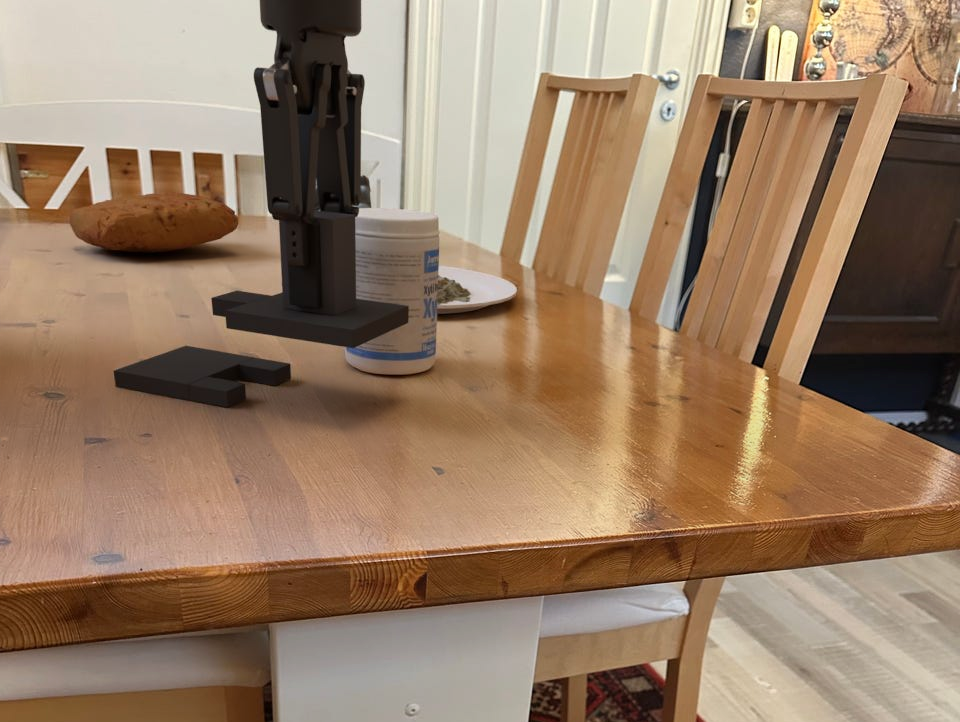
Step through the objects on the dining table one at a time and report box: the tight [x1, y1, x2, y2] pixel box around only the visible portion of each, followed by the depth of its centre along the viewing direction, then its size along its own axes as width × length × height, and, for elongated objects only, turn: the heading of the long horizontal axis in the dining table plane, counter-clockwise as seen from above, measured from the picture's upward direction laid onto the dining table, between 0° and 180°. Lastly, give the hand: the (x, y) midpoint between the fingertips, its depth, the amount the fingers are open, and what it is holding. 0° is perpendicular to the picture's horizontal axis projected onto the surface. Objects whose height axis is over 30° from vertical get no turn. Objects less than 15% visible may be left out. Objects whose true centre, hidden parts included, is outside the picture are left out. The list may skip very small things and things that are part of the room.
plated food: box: [437, 265, 518, 315], centre depth 128 cm, size 30×30×3 cm
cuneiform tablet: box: [69, 192, 239, 254], centre depth 143 cm, size 22×17×8 cm
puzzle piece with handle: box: [211, 210, 409, 348], centre depth 80 cm, size 16×11×9 cm
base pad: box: [113, 345, 292, 409], centre depth 88 cm, size 12×11×2 cm
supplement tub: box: [344, 207, 440, 376], centre depth 94 cm, size 10×10×15 cm
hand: (319, 300), depth 80 cm, fingers closed on puzzle piece with handle, 4 cm apart
